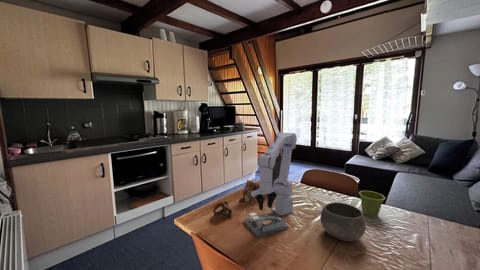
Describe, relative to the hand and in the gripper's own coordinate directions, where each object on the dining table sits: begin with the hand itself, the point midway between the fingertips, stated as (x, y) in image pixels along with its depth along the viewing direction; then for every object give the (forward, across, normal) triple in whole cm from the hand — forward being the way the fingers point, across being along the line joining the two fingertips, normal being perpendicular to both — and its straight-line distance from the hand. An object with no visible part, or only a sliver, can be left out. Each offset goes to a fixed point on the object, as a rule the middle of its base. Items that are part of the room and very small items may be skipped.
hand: (265, 208), depth 97 cm
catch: (+8, +3, -5) cm, 10 cm away
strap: (+6, -2, 0) cm, 6 cm away
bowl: (+10, -28, +20) cm, 36 cm away
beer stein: (+10, -34, -41) cm, 55 cm away
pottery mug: (+10, +13, -20) cm, 26 cm away
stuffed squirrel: (+10, -9, -30) cm, 33 cm away
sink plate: (+10, -2, -2) cm, 10 cm away
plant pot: (+10, -58, +14) cm, 61 cm away
